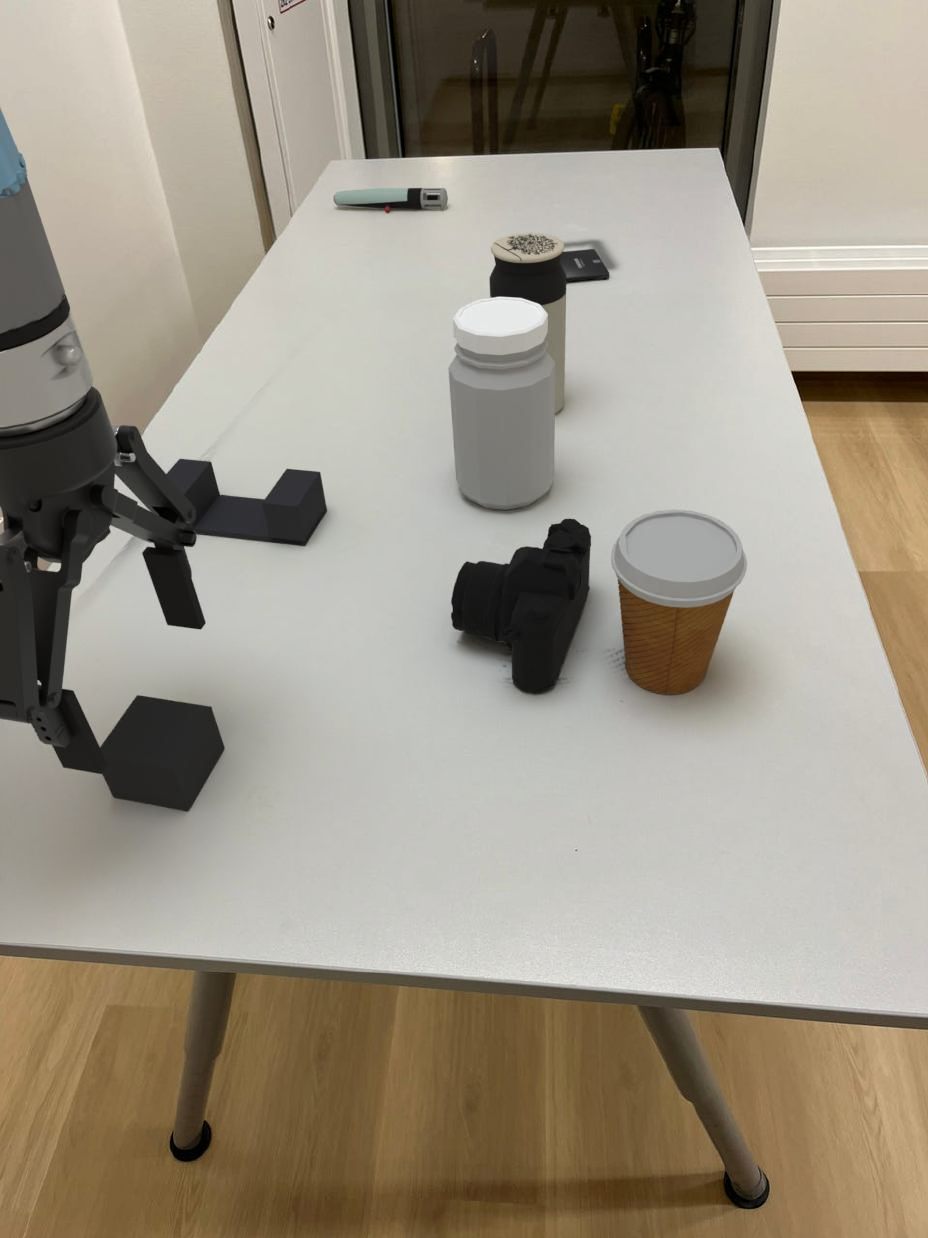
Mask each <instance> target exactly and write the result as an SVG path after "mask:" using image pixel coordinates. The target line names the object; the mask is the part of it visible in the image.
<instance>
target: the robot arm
mask: <svg viewBox="0 0 928 1238" xmlns="http://www.w3.org/2000/svg"><path fill="white" fill-rule="evenodd" d="M38 209H39V208H38V206H37V203H36V199H35V196H34V194H33V191H32V188H31V185H30V182H29V178H28V170H27V164H26V160H25V158H24V156H23V153H21V152H19V149H18V146H17V144H16V141H15V140H14V138H13V135H12V133H11V130H10V128H9V125H8V123H7V120H6V118H5V116H4V113H3V110H2V108H1V107H0V510H1V513H2V521H3V526H2V527H3V532H1V533H0V720H6V721H9V722H10V721H11V722H15V723H16V722H18V723H22V724H28V725H29V724H30V725H31V726H32V729H34V730H33V731H34V732H35V734H36V736H37V738H38V740H39V741H40V742H41V743H43V744H44V745H48V746H49V745H50V746H52V748H53V751H54V753H55V755H56V756H57V758H58V760H59V762H60V764H61V766H62V768H64V769H69V770H75V771H81V772H85V773H86V772H88V773H93V774H98V775H102V773H103V772H104V770H105V769H106V767H107V766H108V764H107V762H106V759H105V757H104V755H103V753H102V751H101V749H100V747H101V746H100V745H99V742H98V740H97V739H96V738H97V737H96V736H95V734H94V732H93V730H92V727H91V725H90V723H89V721H88V719H87V717H86V714H85V712H84V710H83V708H82V706H81V704H80V701H79V699H78V698H77V695H76V693H75V691H74V690H73V689H66V688H63V683H64V673H65V666H66V665H65V664H66V654H67V644H68V633H69V625H70V615H71V614H70V613H71V606H72V605H71V603H72V596H73V595H72V594H73V590H74V588H76V587H78V586H79V585H80V584H81V581H82V575H83V574H82V573H83V564H84V563H85V562H86V561H87V560H88V558H89V557H90V556H91V555H92V553H93V551H94V549H95V547H96V546H97V545H98V544H99V543H101V542H103V541H105V539H106V538H108V536H109V535H110V534H111V533H112V532H111V529H110V527H111V526H112V527H114V528H116V529H119V530H120V531H122V532H124V533H127V534H129V535H131V536H134V537H136V538H138V539H140V540H142V541H144V542H147V543H149V544H153V546H146V547H145V548H144V550H143V551H142V552H141V555H142V557H143V559H144V564H145V566H146V569H147V571H148V574H149V578H150V580H151V583H152V585H153V589H154V592H155V595H156V597H157V600H158V603H159V605H160V609H161V611H162V614H163V617H164V620H165V623H166V625H167V626H170V627H178V628H185V629H186V628H187V629H194V630H200V631H202V629H203V628H204V627H205V625H206V624H207V622H206V619H205V615H204V613H203V609H202V606H201V602H200V601H199V597H198V594H197V591H196V588H195V587H196V586H195V583H194V580H193V579H192V577H193V571H192V567H191V564H190V561H189V559H188V558H189V557H188V554H187V551H186V549H185V548H188V547H189V548H193V547H195V546H196V543H197V538H198V537H197V534H196V532H195V531H194V530H191V529H184V528H185V526H186V523H193V522H194V520H195V517H196V510H195V508H194V506H193V505H192V504H191V503H190V501H189V500H188V499H187V498H186V497H185V496H184V494H183V493H182V492H181V491H180V490H179V489H178V487H177V486H176V485H175V484H174V483H173V482H172V480H171V479H170V478H169V477H168V476H167V473H166V472H165V471H164V470H163V468H162V467H161V466H160V465H159V464H158V462H157V461H156V460H155V459H154V457H153V456H152V455H151V454H150V453H149V452H148V450H147V447H146V445H145V442H144V440H143V438H142V435H141V433H140V431H139V429H138V427H137V426H136V425H126V424H116V423H115V424H113V423H111V421H110V417H109V415H108V411H107V409H106V406H105V403H104V400H103V397H102V395H101V393H100V391H99V390H98V389H97V388H96V387H94V386H93V383H94V380H95V379H94V374H93V371H92V369H91V365H90V363H89V360H88V356H87V353H86V351H85V348H84V346H83V344H82V341H81V338H80V335H79V332H78V329H77V326H76V323H75V320H74V318H73V315H72V312H71V306H70V303H69V300H68V296H67V295H66V291H65V287H64V284H63V281H62V278H61V276H60V275H61V274H60V272H59V269H58V266H57V263H56V260H55V258H54V257H55V256H54V254H53V251H52V248H51V245H50V242H49V239H48V236H47V233H46V230H45V226H44V224H43V220H42V218H41V215H40V212H39V210H38ZM116 476H117V478H118V479H119V480H120V481H121V482H122V483H123V484H124V485H125V486H126V487H127V489H128V490H130V492H131V493H132V494H133V495H134V496H135V497H136V498H137V499H138V500H139V501H140V502H141V503H142V504H143V505H144V506H145V507H143V506H141V505H138V503H139V502H138V501H137V500H135V499H133V498H131V497H129V496H127V495H126V494H123V493H122V492H119V490H118V489H117V488H115V481H116V480H115V478H116ZM146 508H147V509H146ZM39 559H42V560H44V561H46V562H47V563H54V564H60V568H59V570H58V571H55V570H45V569H40V568H39V565H38V562H39ZM38 681H39V682H38ZM38 683H40V684H38Z"/></svg>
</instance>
